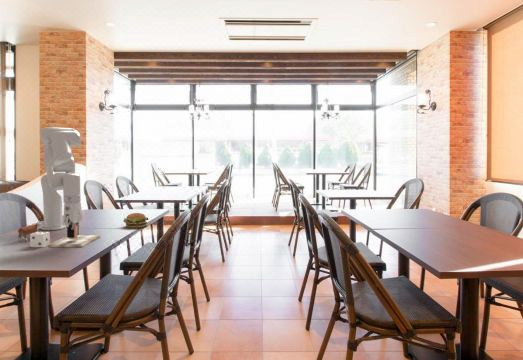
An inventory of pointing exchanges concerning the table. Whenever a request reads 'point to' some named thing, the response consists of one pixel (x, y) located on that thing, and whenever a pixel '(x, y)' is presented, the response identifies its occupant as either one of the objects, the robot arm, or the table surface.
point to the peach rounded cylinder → (75, 231)
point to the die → (39, 239)
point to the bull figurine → (28, 230)
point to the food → (135, 220)
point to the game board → (74, 241)
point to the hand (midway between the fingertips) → (73, 236)
